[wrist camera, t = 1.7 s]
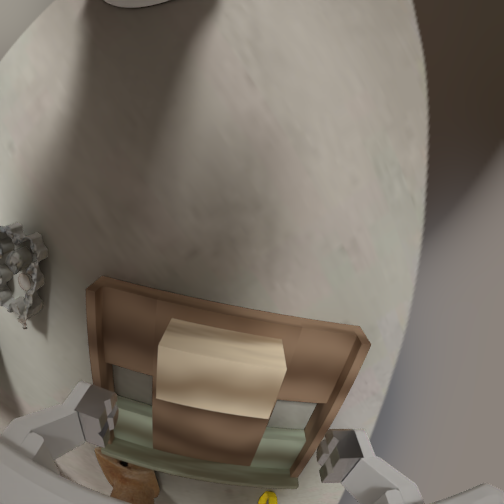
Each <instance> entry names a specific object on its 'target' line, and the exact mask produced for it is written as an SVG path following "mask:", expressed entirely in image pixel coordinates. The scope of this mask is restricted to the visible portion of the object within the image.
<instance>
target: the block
mask: <svg viewBox="0 0 504 504" xmlns="http://www.w3.org/2000/svg"><path fill="white" fill-rule="evenodd" d="M286 371H287V367H286V361H285V355H284V349H283V343H282V339H277V338H270V337H264V336H258V335H253V334H247V333H241V332H236V331H231V330H226V329H220V328H215V327H210V326H206V325H201V324H196V323H192V322H187V321H183V320H178V319H174V318H172V319H171V321H170V323H169V325H168V327H167V329H166V331H165V333H164V335H163V337H162V339H161V341H160V343H159V345H158V358H157V381H156V398H157V399H161V400H164V401H168V402H173V403H177V404H181V405H186V406H190V407H195V408H200V409H205V410H210V411H216V412H221V413H227V414H234V415H240V416H247V417H255V418H263V419H269V416H270V414H271V411H272V409H273V406H274V403H275V401H276V398H277V395H278V393H279V390H280V387H281V385H282V382H283V379H284V376H285V373H286Z"/></svg>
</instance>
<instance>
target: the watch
mask: <svg viewBox="0 0 504 504" xmlns="http://www.w3.org/2000/svg"><path fill="white" fill-rule="evenodd" d="M268 498H269V504H277V497H276V494H275V493H274V492H269V491H265V493H264V494H263V495H262V496H261V497H260V498H259V501H258V504H266V502H267V499H268Z"/></svg>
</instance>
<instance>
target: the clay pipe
mask: <svg viewBox="0 0 504 504" xmlns="http://www.w3.org/2000/svg"><path fill="white" fill-rule="evenodd" d="M95 454H96V457H97V459H98V462H99V464H100V466H101V468H102V470H103V472H104V474H105V476H106V478H107V480H108V481H109V483H110V484H111V485H112V486H113V490H112V493H111V495H110V497H113V498H116V499H119V500H122V501H125V502H128V503H131V504H154V498H156V497H158V495H159V492H160V489H159V485H158V482H157V479H156V475H155V472H154V470H152V469H148V468H144V467H141V466H137V465H134V464H131V463H128V462H125V461H122V460H119V459H116V458H113V457H110V456H107V455H104V454H102V452H101V447H98V448H95Z"/></svg>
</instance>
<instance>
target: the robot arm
mask: <svg viewBox="0 0 504 504" xmlns="http://www.w3.org/2000/svg"><path fill="white" fill-rule="evenodd" d="M104 1H106V2H107V3H109V4H111V5H114V6H118V7H126V8H134V7H144V6H150V5H155V4H159V3H162V2H166V1H169V0H104ZM117 400H118V399H117V394H116V393H114V392H112V391H109V390H106V389H103V388H101V387H98V386H96V385H93V384H90V383H88V382H85V381H83V380H81V381H79V382H78V383H77V385H76V386H75V387H74V389H73V390H72V392H71V393H70V394H69V396H68V397H67V398H66V400H65V401H64V403H63V404H62V405H61V404H56V405H54V406H51V407H48V408H45V409H42V410H39V411H37V412H34V413H31V414H28V415H25V416H22V417H19V418H15V419H13V420H12V421H11V423H10V424H9V425H8V426H7V428H6V429H5V430H4V432H3V433H2V434H1V436H0V504H131V503H128V502H125V501H122V500H119V499H116V498H113V497H110V496H108V495H105V494H102V493H100V492H97V491H95V490H92V489H90V488H87V487H85V486H82V485H80V484H78V483H76V482H73V481H71V480H69V479H67V478H65V477H63V476H61V475H60V472H59V470H58V468H57V466H56V464H55V462H54V460H55V459H57V458H59V457H60V456H62V455H64V454H66V453H68V452H69V451H71V450H73V449H74V448H76V447H78V446H80V445H81V444H83V443H85V441H87V442H89V443H92V444H95V445H98V446H100V447H103V448H105V447H106V445H107V443H108V441H109V439H110V437H111V436H110V430H112V429H114V428H115V426H116V424H117V420H118V415H119V409H118V406H117V405H116V402H117ZM317 462H318V463H319V464H320V465H321V466H322V467H321V469H320V470H319V472H320V477H321V481H322V483H339V482H342V483H341V484H342V485H343V486H344V487H345V488H346V489H347V490H348V492H349V493H350V494H351V495H352V496H353V497H354V498H355V499H356V500H357V501H358V502H359V503H360V504H425V503H424V501H423V498H422V496H421V494H420V491H419V489H418V487H417V484H416V483H414V482H413V481H411V480H409V479H408V478H407V477H405V476H404V475H403V474H401V473H400V472H399V471H397V470H396V469H395V468H393V467H392V466H390V465H389V464H388V463H387V462H385V461H384V460H383V459H381V458H380V457H376V456H375V453H374V451H373V448H372V446H371V443H370V441H369V438H368V436H367V433H366V431H365V430H364V429H329V430H328V431H327V432H326V434H325V439H324V440H323V441H321V442H320V444H319V446H318V449H317ZM431 504H504V491H502V490H500V489H499V488H497V487H495V486H493V485H491V484H488V483H483V484H480V485H478V486H475V487H473V488H471V489H468V490H466V491H464V492H461V493H459V494H456V495H453V496H451V497H448V498H446V499H442V500H439V501H437V502H434V503H431Z"/></svg>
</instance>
